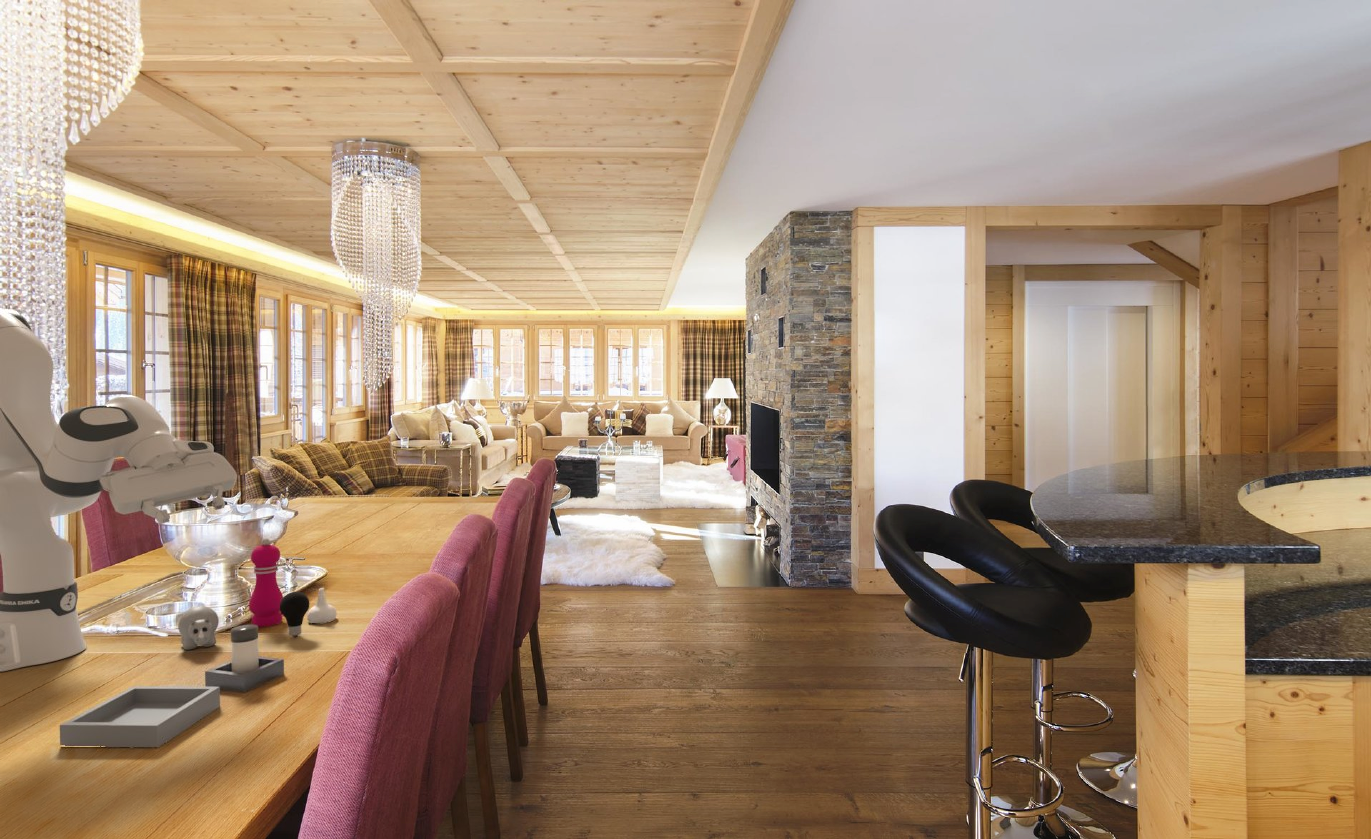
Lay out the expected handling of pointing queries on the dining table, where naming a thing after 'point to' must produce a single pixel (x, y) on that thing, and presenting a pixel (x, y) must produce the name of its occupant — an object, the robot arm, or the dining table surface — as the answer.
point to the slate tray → (140, 717)
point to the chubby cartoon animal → (198, 627)
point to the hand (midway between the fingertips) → (193, 513)
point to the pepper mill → (265, 586)
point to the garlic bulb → (321, 610)
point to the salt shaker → (244, 648)
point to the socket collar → (244, 675)
